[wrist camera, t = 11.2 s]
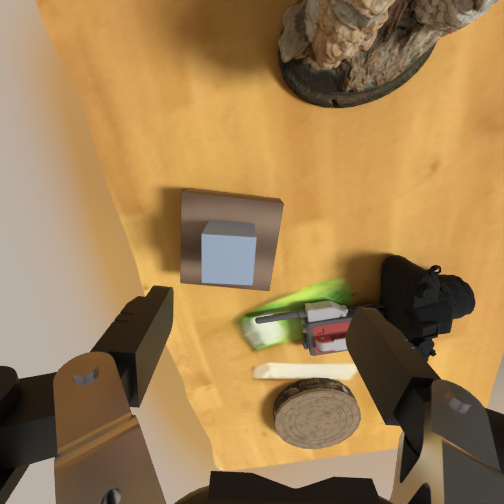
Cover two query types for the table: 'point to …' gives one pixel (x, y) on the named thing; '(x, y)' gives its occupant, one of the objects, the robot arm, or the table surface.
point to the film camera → (422, 301)
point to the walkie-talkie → (322, 325)
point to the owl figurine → (364, 44)
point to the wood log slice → (316, 413)
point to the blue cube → (228, 253)
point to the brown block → (229, 210)
